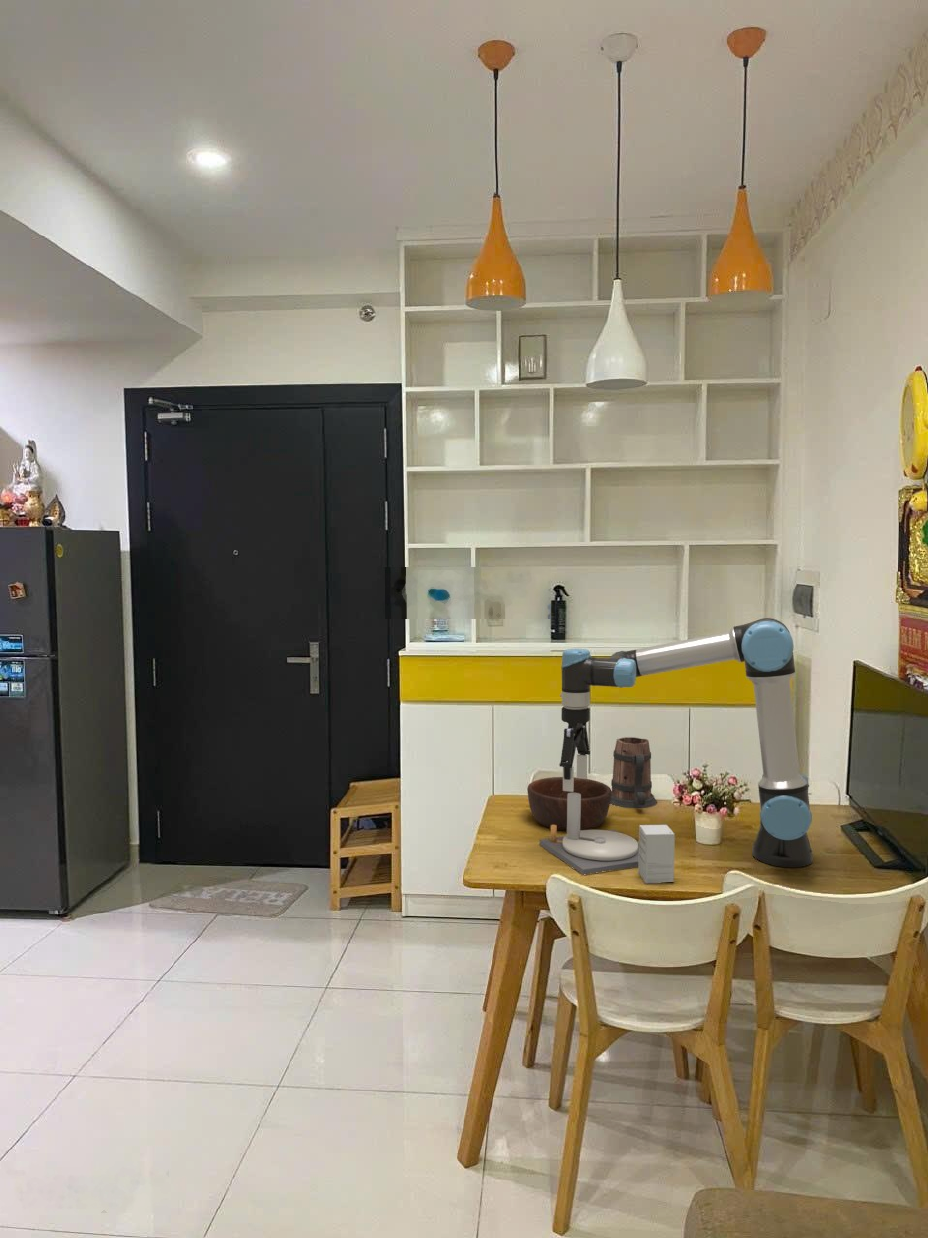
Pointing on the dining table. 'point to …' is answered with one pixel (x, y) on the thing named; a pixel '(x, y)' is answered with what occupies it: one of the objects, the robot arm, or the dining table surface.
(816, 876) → the dining table surface
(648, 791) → the tankard
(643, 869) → the supplement box
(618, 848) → the grey round-based post piece
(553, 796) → the wooden bowl
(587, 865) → the dial plate
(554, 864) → the dining table surface
